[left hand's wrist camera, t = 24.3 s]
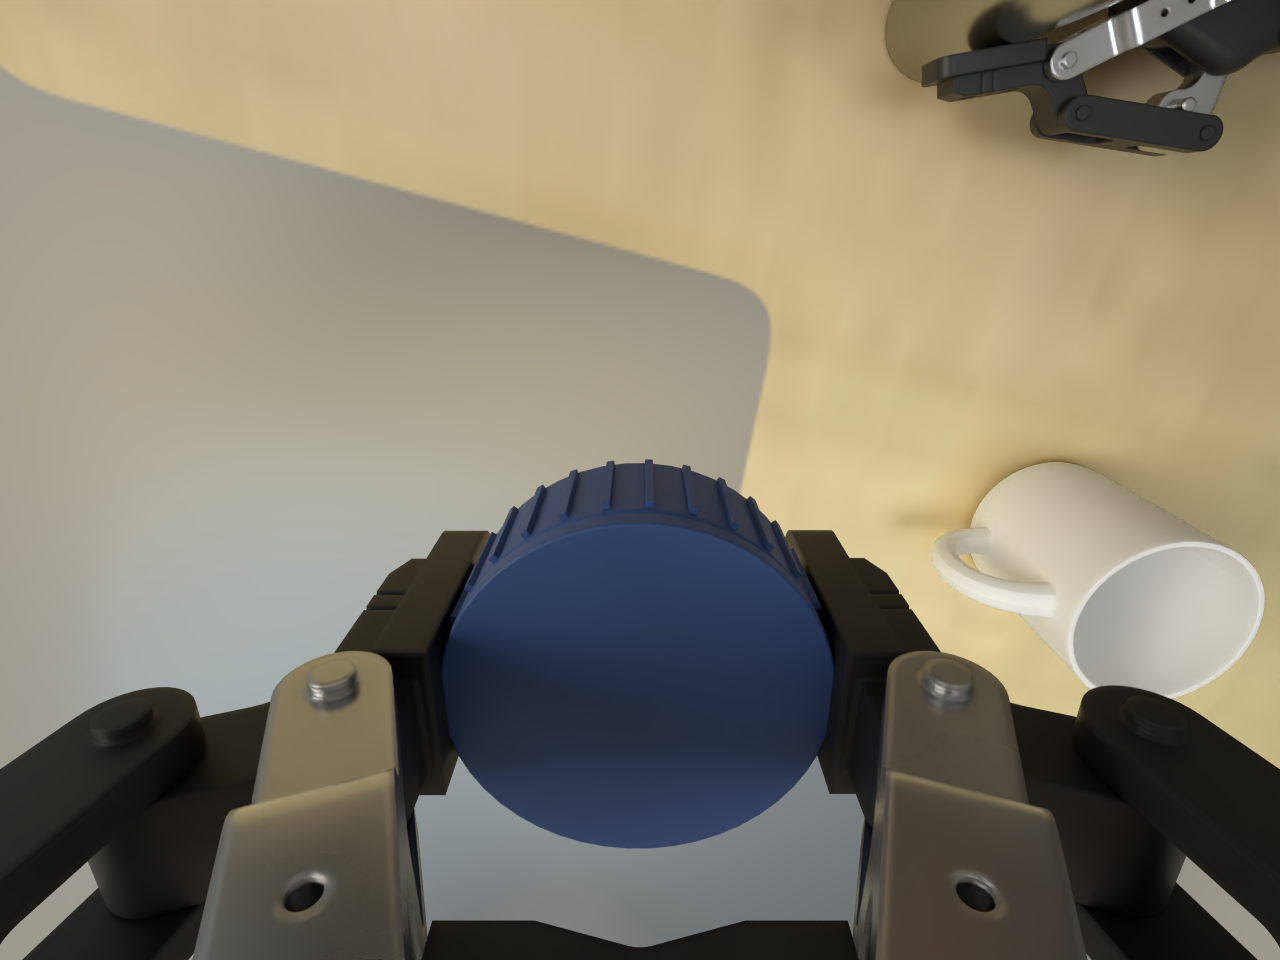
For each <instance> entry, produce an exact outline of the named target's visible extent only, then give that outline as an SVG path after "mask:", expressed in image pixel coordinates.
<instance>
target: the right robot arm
mask: <svg viewBox="0 0 1280 960" xmlns="http://www.w3.org/2000/svg"><path fill="white" fill-rule="evenodd" d="M1138 46H1139V47H1140V48H1142V49H1143V50H1145V51H1146V52H1148V53H1149V54H1151V55H1152V56H1153V57H1155V58H1156V59H1158V60H1159V61H1161V62H1162V63H1164V64H1165V65H1167V66H1168V67H1169V68H1171V69H1172V70H1174V71H1175V72H1177V73H1178V74H1180V75H1181V76H1182V77H1184V78H1185V79H1184V81H1183V82H1182V84H1181V85H1180V86H1179V87H1178V88H1177V89H1175V90H1173V91H1168V92H1164V93H1160V94H1156V95H1154V96H1153V97H1151V98H1150V99H1149V100H1148V101H1147V102H1146V104H1142V103H1136V102H1130V101H1124V100H1118V99H1112V98H1105V97H1099V96H1093V95H1088V94H1087V91H1086V87H1085V83H1084V80H1083V76H1082V73H1083V72H1085V71H1087V70H1089V69H1091V68H1093V67H1095V66H1097V65H1099V64H1101V63H1103V62H1105V61H1107V60H1109V59H1111V58H1113V57H1115V56H1117V55H1119V54H1121V53H1124V52H1126V51H1128V50H1131V49H1133V48H1135V47H1138ZM1276 52H1280V0H1123V1H1121V2H1118V3H1116V4H1114V5H1112V6H1109V8H1108V16H1106V17H1104V18H1102V19H1100V20H1098V21H1096V22H1094V23H1092V24H1090V25H1088V26H1086V27H1085V28H1083V29H1081V30H1079V31H1077V32H1075V33H1073V34H1071V35H1070V36H1068V37H1066V38H1065V39H1063V40H1061V41H1059V42H1057V43H1055V44H1049V45H1047V38H1042V39H1036V40H1031V41H1027V42H1021V43H1014V44H1008V45H1002V46H997V47H991V48H985V49H980V50H974V51H968V52H963V53H957V54H952V55H947V56H943V57H940V58H937V59H935V60H933V61H931V62H929V63H927V64H925V65H923V66H922V87H929V86H934V85H937V99H941V100H944V101H948V102H954V101H960V100H965V99H971V98H976V97H983V96H989V95H994V94H1000V93H1006V92H1012V91H1018V92H1021V93H1023V94H1025V95H1026V96H1027V97H1028V99H1029V100H1030V103H1031V106H1032V109H1033V115H1032V117H1031V120H1030V130H1031V132H1032V134H1033V135H1034V136H1035V137H1037V138H1042V139H1048V140H1055V141H1061V142H1067V143H1074V144H1080V145H1086V146H1092V147H1099V148H1105V149H1111V150H1118V151H1124V152H1130V153H1137V154H1143V155H1149V156H1163V155H1174V154H1183V153H1191V152H1200V151H1206V150H1208V149H1210V148H1212V147H1213V146H1214V145H1215V144H1216V143H1217V142H1218V141H1219V139H1220V138H1221V135H1222V132H1223V124H1222V121H1221V119H1220V118H1219V117H1217V116H1215V115H1212V112H1213V110H1214V107H1215V105H1216V102H1217V100H1218V97H1219V95H1220V92H1221V90H1222V87H1223V85H1224V82H1225V80H1226V77H1227V75H1228V74H1231V73H1233V72H1236V71H1238V70H1240V69H1241V68H1243V67H1245V66H1246V65H1247V64H1248V63H1250V62H1251V61H1253V60H1254V59H1256V58H1257V57H1259V56H1261V55H1264V54H1270V53H1276Z"/></svg>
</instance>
